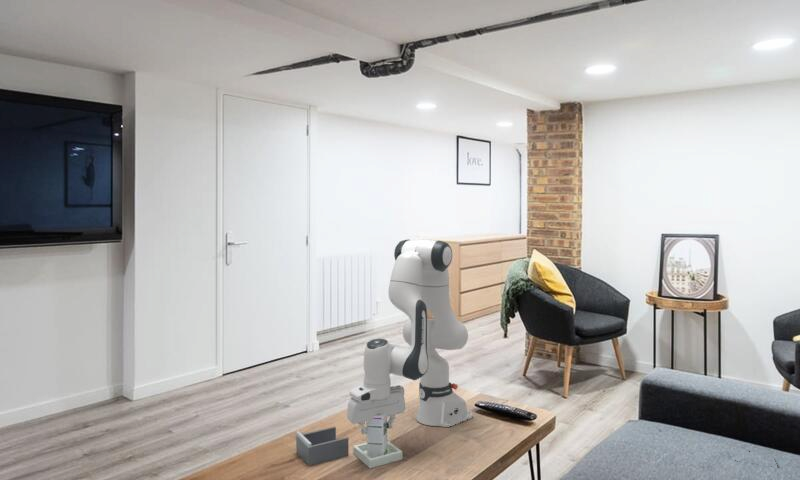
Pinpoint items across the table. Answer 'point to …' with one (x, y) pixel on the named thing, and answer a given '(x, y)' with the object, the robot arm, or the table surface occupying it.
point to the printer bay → (320, 446)
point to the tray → (391, 456)
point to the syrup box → (377, 436)
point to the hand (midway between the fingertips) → (377, 430)
